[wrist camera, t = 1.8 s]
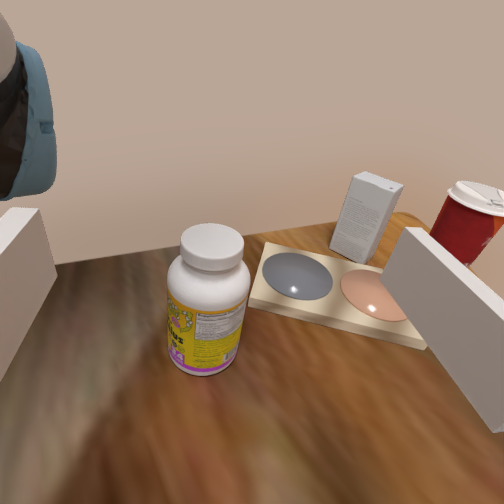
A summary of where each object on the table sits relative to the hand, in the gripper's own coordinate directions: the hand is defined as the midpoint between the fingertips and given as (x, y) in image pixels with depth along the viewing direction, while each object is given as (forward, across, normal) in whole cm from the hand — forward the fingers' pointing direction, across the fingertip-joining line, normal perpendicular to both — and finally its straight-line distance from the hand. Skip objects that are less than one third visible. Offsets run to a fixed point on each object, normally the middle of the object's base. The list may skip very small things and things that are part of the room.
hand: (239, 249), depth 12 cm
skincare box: (+27, +23, -19) cm, 40 cm away
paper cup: (+21, +34, -19) cm, 44 cm away
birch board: (+18, +17, -19) cm, 31 cm away
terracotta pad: (+16, +21, -17) cm, 32 cm away
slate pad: (+19, +12, -17) cm, 29 cm away
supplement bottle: (+10, 0, -19) cm, 21 cm away
